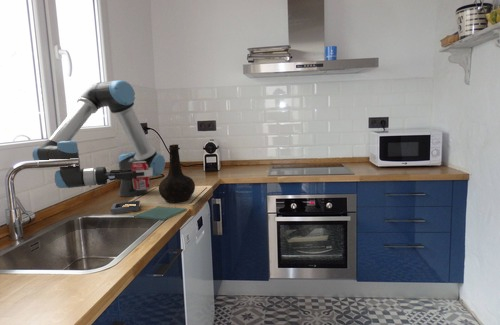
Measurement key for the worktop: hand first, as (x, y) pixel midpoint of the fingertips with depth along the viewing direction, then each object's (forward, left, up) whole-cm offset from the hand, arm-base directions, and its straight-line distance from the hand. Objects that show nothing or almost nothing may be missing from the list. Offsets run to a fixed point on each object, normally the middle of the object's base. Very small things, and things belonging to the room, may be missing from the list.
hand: (152, 171), depth 159 cm
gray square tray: (0, -18, -18) cm, 26 cm away
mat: (+2, +4, -18) cm, 19 cm away
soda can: (+3, -4, -7) cm, 9 cm away
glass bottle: (-21, -4, -18) cm, 28 cm away
